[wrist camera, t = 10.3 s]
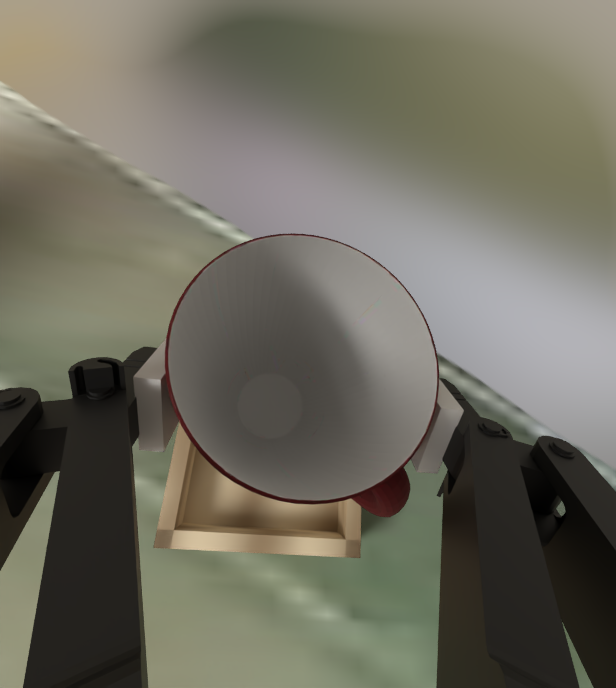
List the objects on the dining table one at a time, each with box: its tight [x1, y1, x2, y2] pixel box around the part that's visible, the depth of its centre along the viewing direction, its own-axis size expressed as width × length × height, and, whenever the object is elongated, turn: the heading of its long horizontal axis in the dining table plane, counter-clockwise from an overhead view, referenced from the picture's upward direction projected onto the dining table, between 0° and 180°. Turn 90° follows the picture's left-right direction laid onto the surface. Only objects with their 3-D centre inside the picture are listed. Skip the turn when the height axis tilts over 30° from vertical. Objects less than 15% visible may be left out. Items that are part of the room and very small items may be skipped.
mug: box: [165, 234, 439, 517], centre depth 14 cm, size 10×8×10 cm
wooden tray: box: [154, 422, 361, 558], centre depth 25 cm, size 13×16×4 cm
